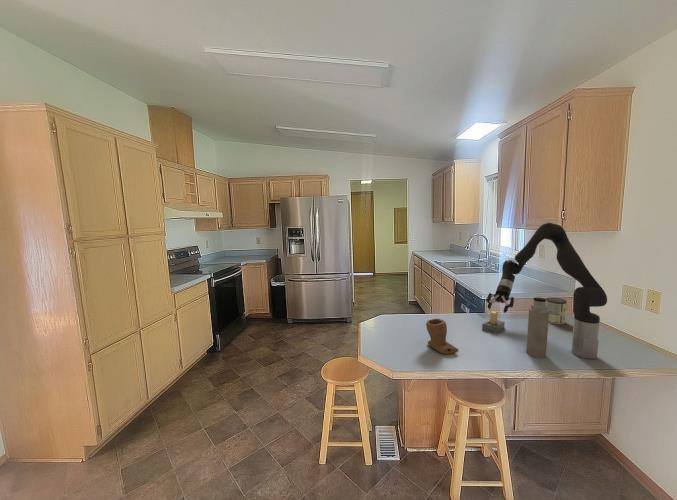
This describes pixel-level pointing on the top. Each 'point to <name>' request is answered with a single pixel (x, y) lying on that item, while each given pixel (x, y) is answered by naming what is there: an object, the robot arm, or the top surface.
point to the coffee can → (556, 310)
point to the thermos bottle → (537, 328)
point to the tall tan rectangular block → (493, 317)
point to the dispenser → (493, 326)
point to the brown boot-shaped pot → (439, 336)
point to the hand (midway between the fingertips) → (496, 310)
